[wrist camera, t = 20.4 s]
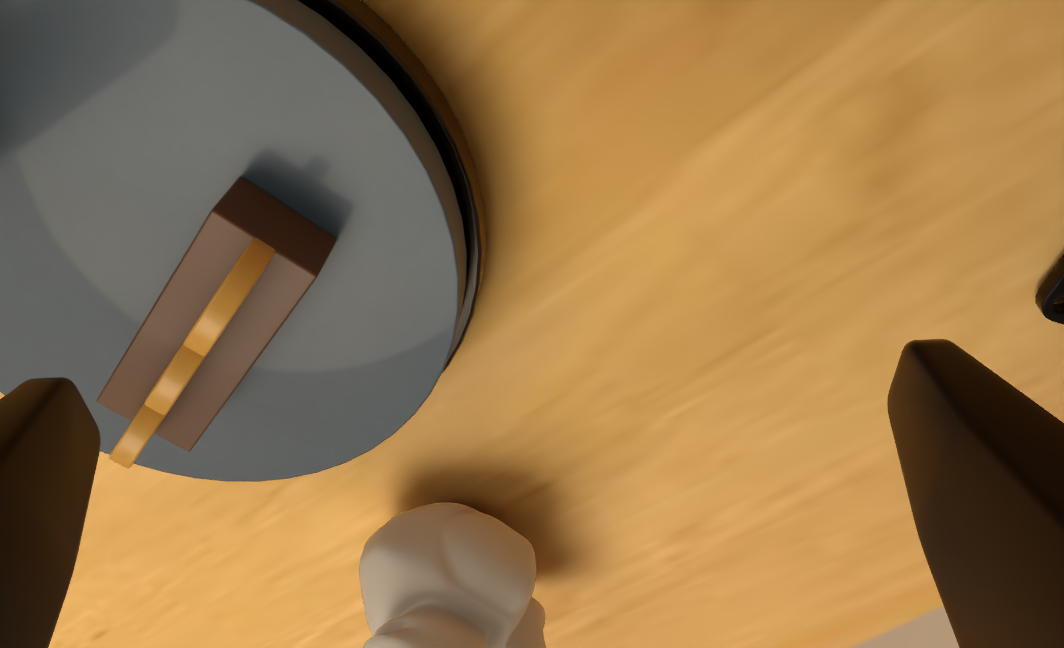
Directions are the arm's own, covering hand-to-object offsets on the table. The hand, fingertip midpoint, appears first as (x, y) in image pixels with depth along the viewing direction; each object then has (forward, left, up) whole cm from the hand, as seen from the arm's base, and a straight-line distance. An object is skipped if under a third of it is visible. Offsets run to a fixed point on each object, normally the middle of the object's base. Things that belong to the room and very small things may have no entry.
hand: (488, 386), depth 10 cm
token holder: (+7, +6, -10) cm, 14 cm away
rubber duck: (-2, +16, -12) cm, 20 cm away
